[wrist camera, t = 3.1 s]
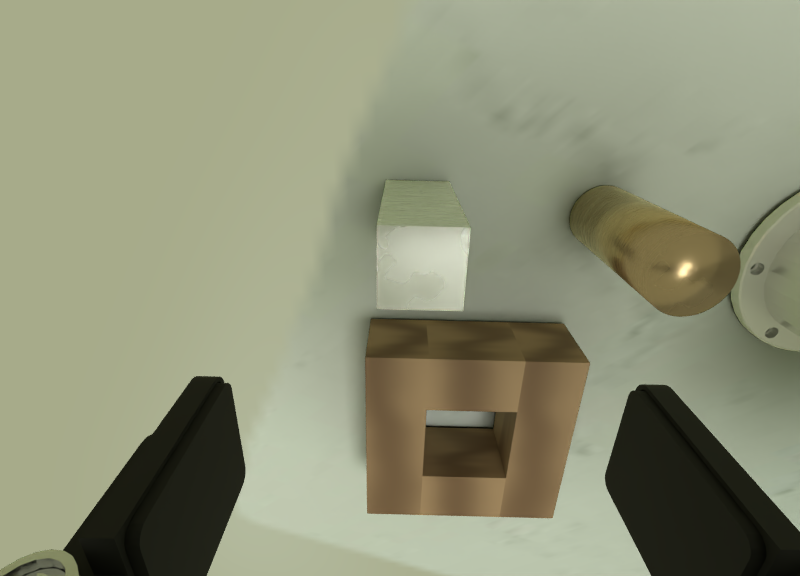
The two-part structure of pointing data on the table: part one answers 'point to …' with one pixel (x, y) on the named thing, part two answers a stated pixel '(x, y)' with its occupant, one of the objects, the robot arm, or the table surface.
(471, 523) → the table surface
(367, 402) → the socket block
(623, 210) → the round peg
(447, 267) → the square peg
